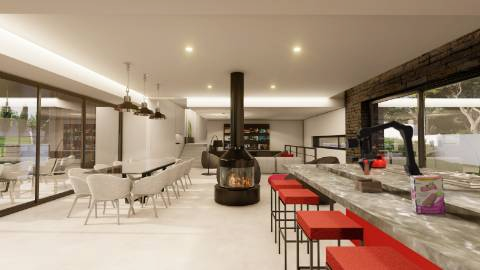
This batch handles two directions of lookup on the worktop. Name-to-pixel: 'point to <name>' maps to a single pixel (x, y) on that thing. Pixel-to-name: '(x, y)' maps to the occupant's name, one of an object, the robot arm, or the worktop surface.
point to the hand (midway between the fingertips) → (366, 171)
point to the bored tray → (368, 185)
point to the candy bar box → (427, 194)
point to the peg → (366, 168)
